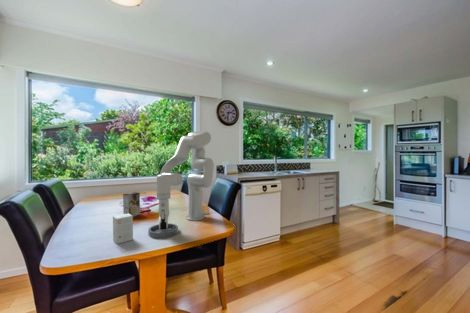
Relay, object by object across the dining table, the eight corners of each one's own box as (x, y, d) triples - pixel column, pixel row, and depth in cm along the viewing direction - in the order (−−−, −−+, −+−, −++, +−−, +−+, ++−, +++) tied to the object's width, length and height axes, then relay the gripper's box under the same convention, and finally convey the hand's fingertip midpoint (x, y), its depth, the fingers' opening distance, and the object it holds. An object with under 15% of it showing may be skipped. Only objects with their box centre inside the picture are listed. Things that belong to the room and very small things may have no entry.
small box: (129, 236, 124) (128, 212, 123) (133, 240, 119) (133, 215, 119) (112, 240, 118) (112, 215, 118) (116, 244, 114) (116, 218, 113)
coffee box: (134, 213, 168) (134, 191, 167) (140, 214, 165) (140, 192, 164) (123, 216, 160) (122, 193, 159) (128, 217, 157) (128, 194, 156)
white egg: (168, 227, 133) (168, 215, 132) (167, 230, 128) (167, 217, 128) (159, 227, 131) (159, 215, 131) (158, 230, 127) (158, 218, 126)
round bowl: (177, 227, 139) (177, 222, 139) (177, 237, 124) (178, 232, 124) (150, 229, 135) (150, 224, 135) (146, 239, 120) (146, 234, 120)
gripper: (170, 198, 122) (170, 232, 122) (170, 192, 138) (170, 222, 139) (155, 199, 120) (155, 233, 120) (157, 193, 136) (157, 223, 137)
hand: (163, 227), depth 130 cm, fingers closed on white egg, 5 cm apart
